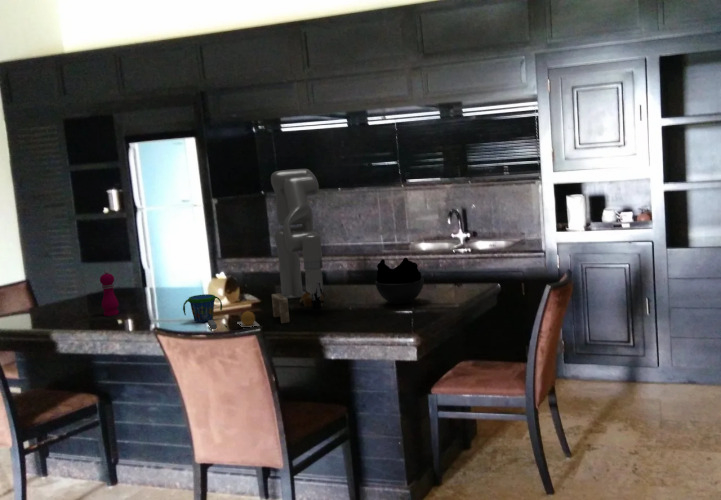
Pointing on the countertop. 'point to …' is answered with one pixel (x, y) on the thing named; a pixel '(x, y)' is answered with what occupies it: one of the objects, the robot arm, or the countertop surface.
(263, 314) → the countertop surface
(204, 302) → the snack cup
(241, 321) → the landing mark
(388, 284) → the bowl of black rocks
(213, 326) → the stopper
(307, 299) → the bread roll
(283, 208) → the robot arm
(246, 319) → the ball
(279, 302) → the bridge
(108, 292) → the pepper mill
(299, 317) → the countertop surface
